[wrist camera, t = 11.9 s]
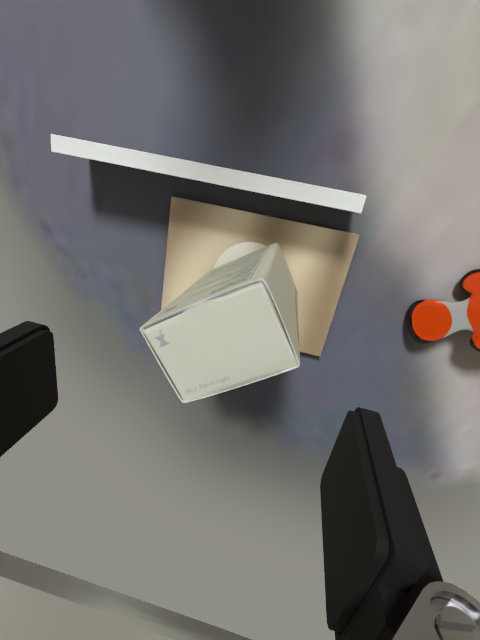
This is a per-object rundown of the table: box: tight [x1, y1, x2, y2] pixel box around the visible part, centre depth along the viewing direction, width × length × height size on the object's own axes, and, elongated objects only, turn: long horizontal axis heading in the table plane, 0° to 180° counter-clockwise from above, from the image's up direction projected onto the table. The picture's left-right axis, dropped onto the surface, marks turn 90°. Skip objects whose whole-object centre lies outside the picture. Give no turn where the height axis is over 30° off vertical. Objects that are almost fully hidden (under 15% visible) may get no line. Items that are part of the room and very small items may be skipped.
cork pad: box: [161, 196, 359, 356], centre depth 25 cm, size 14×10×1 cm
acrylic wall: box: [51, 134, 367, 213], centre depth 21 cm, size 20×1×4 cm, turn 79°
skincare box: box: [140, 243, 300, 403], centre depth 19 cm, size 6×4×12 cm
